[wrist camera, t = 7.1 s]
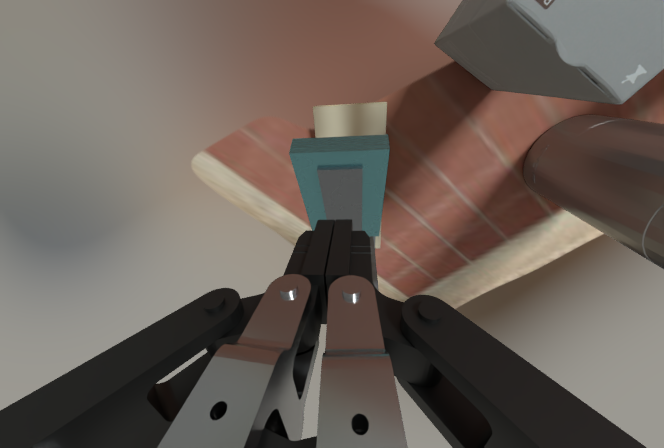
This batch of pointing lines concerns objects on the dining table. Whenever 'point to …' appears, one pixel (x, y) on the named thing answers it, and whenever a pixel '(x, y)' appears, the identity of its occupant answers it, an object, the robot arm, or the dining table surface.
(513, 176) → the dining table surface
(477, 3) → the skincare box
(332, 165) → the lever
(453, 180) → the dining table surface
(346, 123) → the cracker base
